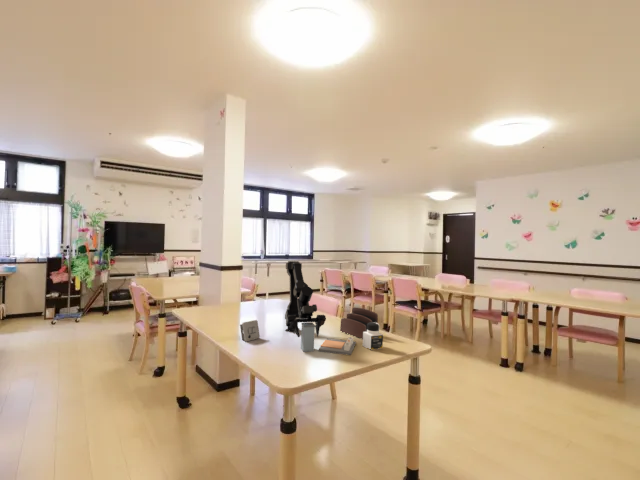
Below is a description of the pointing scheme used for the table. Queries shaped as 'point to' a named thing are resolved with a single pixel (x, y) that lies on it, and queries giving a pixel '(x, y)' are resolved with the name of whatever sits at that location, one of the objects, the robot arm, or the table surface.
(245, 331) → the electrical switch
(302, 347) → the cap
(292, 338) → the table surface
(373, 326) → the medicine bottle
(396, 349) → the table surface
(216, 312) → the table surface
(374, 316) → the letter holder
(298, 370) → the table surface
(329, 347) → the board
